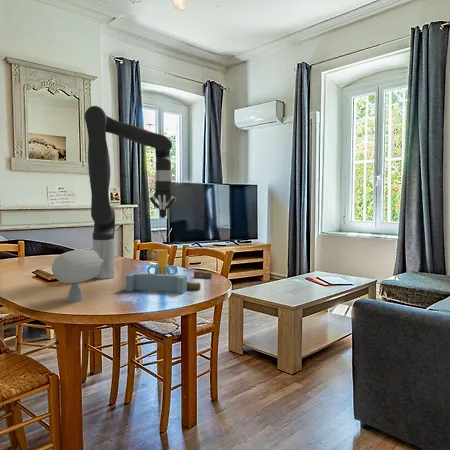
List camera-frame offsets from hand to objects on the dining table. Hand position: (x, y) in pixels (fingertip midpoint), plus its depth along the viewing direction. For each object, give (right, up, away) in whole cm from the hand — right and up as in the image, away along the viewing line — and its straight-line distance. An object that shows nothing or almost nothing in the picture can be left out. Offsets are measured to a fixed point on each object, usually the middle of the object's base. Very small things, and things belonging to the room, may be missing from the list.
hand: (163, 217), depth 189 cm
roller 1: (+15, -29, -28) cm, 43 cm away
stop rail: (+2, -29, -32) cm, 43 cm away
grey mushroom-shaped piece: (-22, -30, -45) cm, 59 cm away
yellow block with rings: (+3, -29, -23) cm, 37 cm away
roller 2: (+19, -28, -5) cm, 34 cm away
